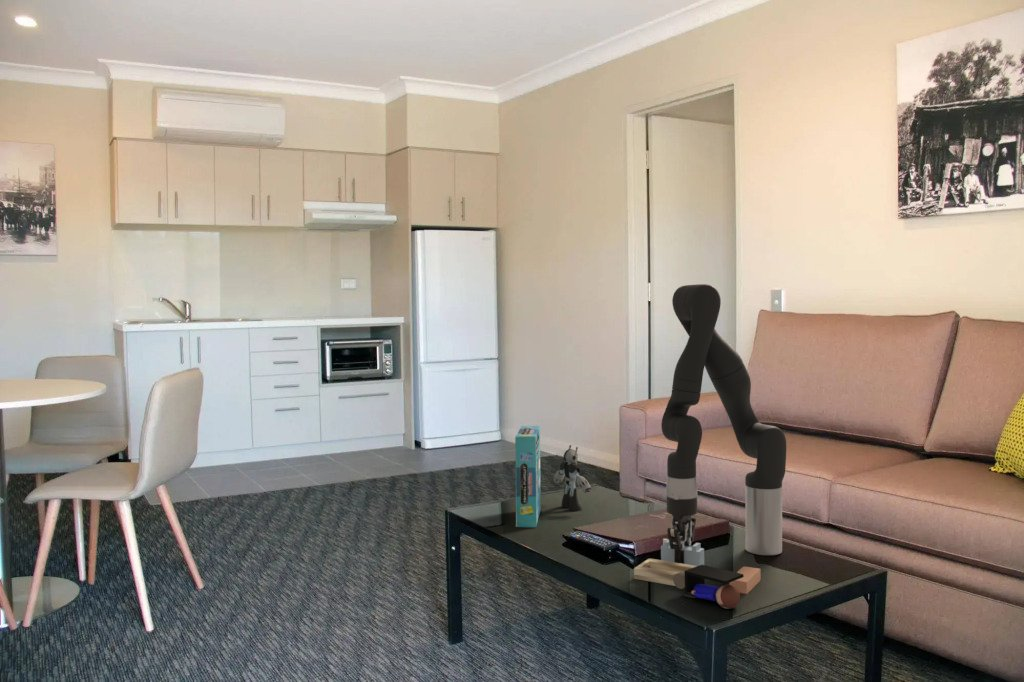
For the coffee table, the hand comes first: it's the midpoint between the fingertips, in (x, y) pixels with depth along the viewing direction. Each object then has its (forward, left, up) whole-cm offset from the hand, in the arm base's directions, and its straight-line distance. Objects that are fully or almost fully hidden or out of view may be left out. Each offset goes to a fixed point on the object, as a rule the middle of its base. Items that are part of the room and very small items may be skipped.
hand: (682, 562), depth 209 cm
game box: (-20, -57, -1) cm, 60 cm away
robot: (-38, -52, -1) cm, 64 cm away
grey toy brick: (0, 0, -1) cm, 1 cm away
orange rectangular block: (+7, +18, -1) cm, 19 cm away
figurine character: (+21, +14, -1) cm, 25 cm away
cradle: (+11, +1, -1) cm, 11 cm away
